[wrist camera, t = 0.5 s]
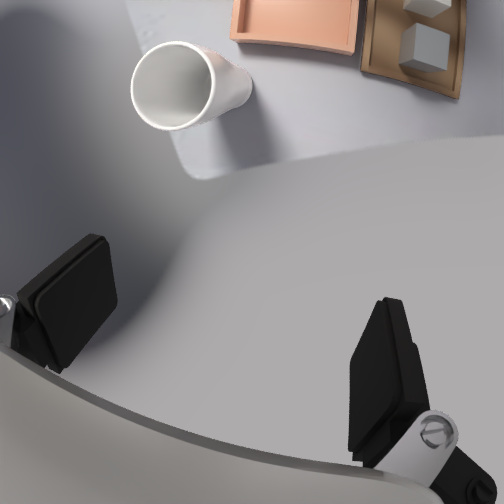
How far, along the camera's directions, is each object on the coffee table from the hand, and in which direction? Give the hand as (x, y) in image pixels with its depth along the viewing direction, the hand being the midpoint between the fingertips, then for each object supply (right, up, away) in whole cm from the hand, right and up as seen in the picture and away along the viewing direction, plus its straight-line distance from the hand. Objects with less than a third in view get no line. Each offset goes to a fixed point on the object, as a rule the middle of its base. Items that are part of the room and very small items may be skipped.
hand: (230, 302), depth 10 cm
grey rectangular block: (+18, +23, +14) cm, 32 cm away
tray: (+18, +26, +13) cm, 34 cm away
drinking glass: (-2, +20, +21) cm, 29 cm away
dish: (+6, +29, +14) cm, 33 cm away
